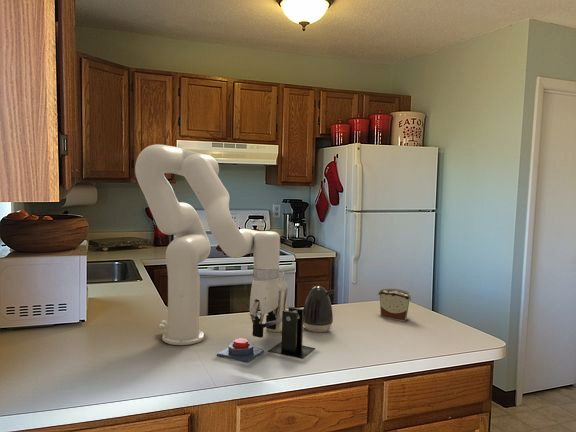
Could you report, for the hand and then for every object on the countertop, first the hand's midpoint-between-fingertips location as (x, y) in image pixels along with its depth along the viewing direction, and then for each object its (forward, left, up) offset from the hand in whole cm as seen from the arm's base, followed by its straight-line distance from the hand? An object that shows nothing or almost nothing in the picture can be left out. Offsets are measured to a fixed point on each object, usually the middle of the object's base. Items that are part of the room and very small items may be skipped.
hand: (264, 332), depth 141 cm
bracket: (+9, 0, -5) cm, 10 cm away
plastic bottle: (-3, +14, -5) cm, 15 cm away
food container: (+27, +52, -5) cm, 59 cm away
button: (-2, -10, -2) cm, 10 cm away
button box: (-2, -10, -5) cm, 11 cm away
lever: (+5, 0, +3) cm, 6 cm away
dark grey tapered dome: (+8, +22, -5) cm, 24 cm away
